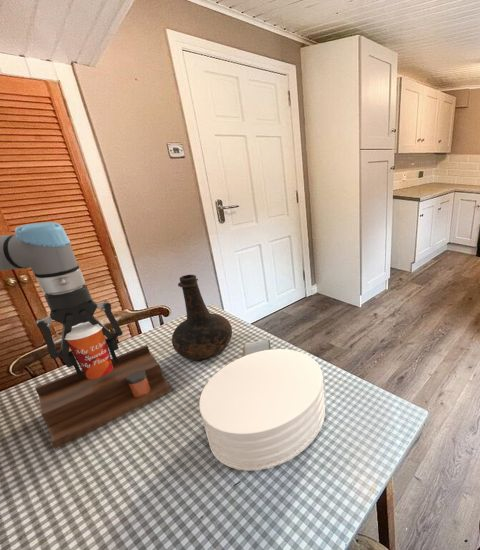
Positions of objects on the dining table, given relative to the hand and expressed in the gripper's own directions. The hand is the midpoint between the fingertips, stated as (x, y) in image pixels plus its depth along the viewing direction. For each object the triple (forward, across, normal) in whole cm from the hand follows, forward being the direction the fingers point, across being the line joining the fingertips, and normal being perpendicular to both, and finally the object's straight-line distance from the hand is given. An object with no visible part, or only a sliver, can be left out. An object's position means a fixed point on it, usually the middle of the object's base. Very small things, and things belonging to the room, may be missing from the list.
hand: (98, 367), depth 80 cm
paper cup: (+2, 0, 0) cm, 2 cm away
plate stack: (+11, +25, -40) cm, 48 cm away
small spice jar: (+8, +6, -8) cm, 13 cm away
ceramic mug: (+11, +35, -19) cm, 41 cm away
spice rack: (+11, 0, -3) cm, 11 cm away
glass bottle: (+11, +27, +2) cm, 29 cm away
